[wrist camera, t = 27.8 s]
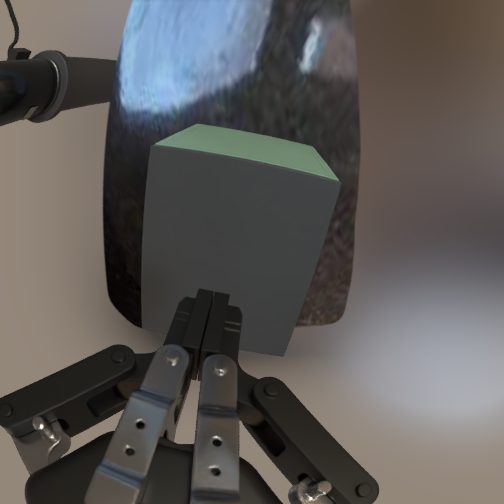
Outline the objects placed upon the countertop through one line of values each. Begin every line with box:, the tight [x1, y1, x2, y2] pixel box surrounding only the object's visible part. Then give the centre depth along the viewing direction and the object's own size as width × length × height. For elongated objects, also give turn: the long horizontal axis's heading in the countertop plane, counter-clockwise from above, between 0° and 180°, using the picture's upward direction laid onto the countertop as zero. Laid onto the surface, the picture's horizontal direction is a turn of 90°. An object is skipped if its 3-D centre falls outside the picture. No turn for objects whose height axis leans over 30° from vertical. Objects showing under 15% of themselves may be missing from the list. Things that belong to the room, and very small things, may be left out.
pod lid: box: [141, 145, 341, 356], centre depth 22 cm, size 16×14×1 cm
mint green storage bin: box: [155, 124, 339, 181], centre depth 29 cm, size 16×14×13 cm
